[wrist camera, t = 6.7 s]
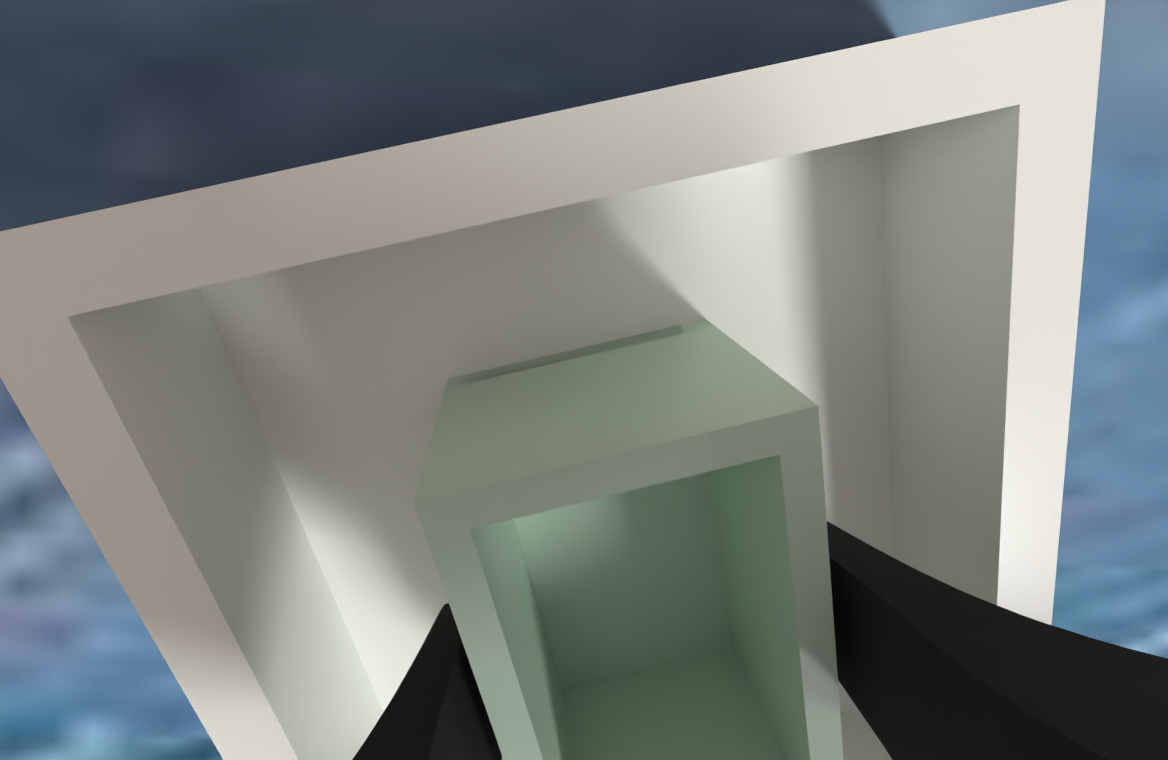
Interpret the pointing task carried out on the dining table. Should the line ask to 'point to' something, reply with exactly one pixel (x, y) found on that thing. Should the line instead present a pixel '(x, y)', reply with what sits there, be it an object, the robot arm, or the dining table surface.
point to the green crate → (638, 552)
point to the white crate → (565, 341)
